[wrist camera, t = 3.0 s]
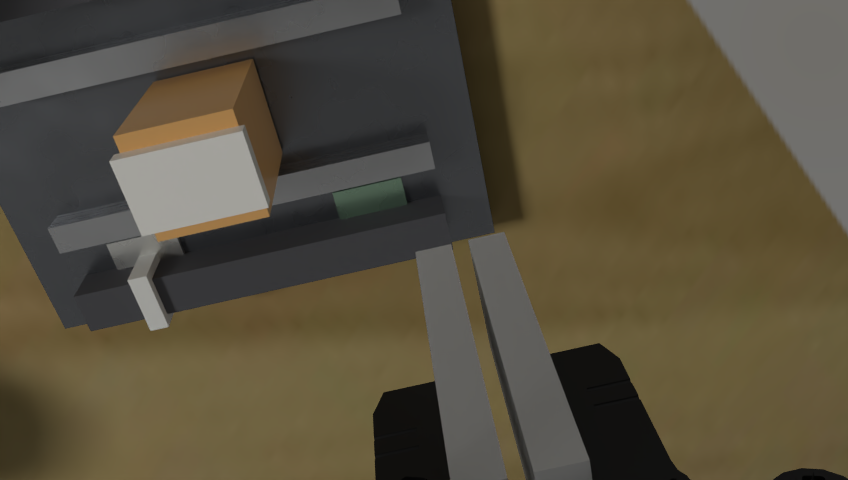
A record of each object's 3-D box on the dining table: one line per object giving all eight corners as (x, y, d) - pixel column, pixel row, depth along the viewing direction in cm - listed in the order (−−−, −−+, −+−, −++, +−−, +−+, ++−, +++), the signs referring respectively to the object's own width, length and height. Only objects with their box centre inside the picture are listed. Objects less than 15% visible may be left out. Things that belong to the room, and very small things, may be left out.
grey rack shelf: (-67, -36, 28) (-98, -26, 26) (367, -139, 28) (369, -136, 26) (105, 315, 36) (92, 343, 34) (450, 238, 35) (456, 262, 33)
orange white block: (148, 82, 31) (101, 144, 25) (257, 57, 31) (236, 113, 25) (184, 174, 33) (148, 251, 27) (287, 151, 32) (273, 223, 27)
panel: (-102, -36, 29) (-142, -23, 27) (418, -160, 29) (424, -158, 27) (75, 310, 37) (56, 344, 35) (489, 217, 37) (498, 245, 34)
